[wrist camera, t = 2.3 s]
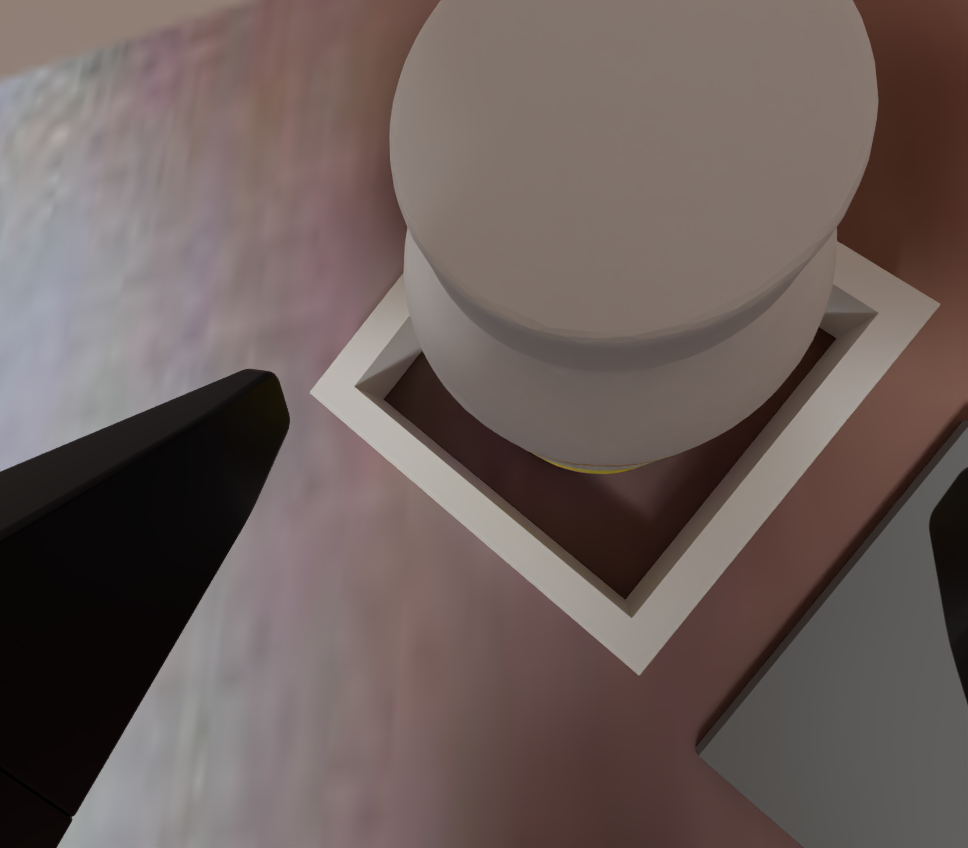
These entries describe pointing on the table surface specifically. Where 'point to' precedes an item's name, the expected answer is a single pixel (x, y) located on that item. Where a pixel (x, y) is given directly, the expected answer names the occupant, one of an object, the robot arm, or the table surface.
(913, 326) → the holder
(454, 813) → the table surface
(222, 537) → the robot arm
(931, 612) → the mat
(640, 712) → the table surface
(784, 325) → the supplement bottle
